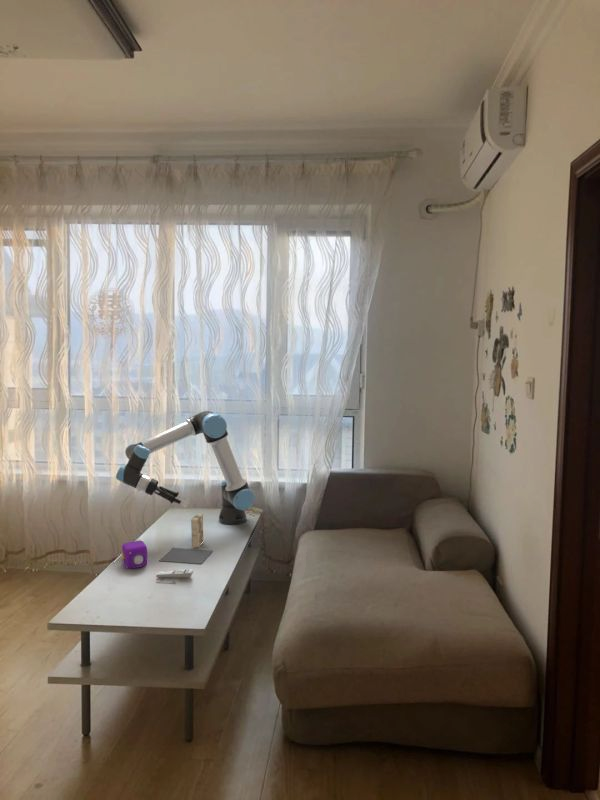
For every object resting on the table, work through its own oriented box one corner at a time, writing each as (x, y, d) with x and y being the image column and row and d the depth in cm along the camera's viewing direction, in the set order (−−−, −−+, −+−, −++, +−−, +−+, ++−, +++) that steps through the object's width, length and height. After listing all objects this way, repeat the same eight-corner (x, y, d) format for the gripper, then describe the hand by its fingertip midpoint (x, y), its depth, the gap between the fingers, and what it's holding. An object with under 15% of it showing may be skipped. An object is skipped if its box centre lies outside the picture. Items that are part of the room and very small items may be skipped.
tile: (197, 541, 286) (197, 514, 285) (203, 542, 286) (202, 514, 284) (191, 547, 279) (191, 519, 277) (197, 548, 278) (197, 519, 276)
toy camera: (131, 573, 248) (130, 551, 247) (118, 564, 259) (117, 542, 258) (154, 567, 255) (153, 545, 254) (141, 558, 266) (140, 537, 264)
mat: (172, 548, 277) (172, 547, 277) (212, 551, 274) (212, 550, 274) (158, 561, 261) (158, 560, 261) (201, 564, 258) (201, 563, 258)
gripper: (148, 490, 292) (186, 507, 293) (140, 494, 267) (182, 514, 269) (154, 476, 293) (193, 494, 294) (147, 479, 268) (189, 499, 270)
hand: (188, 503), depth 281 cm, fingers open, 13 cm apart
